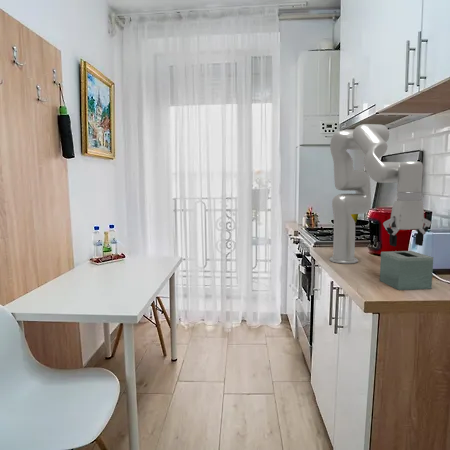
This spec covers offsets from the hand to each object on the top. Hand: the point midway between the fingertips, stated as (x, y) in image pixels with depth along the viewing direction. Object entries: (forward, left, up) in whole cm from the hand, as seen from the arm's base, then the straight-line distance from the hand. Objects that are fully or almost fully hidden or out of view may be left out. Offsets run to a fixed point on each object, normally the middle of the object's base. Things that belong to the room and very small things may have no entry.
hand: (406, 245), depth 124 cm
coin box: (0, 0, -14) cm, 14 cm away
